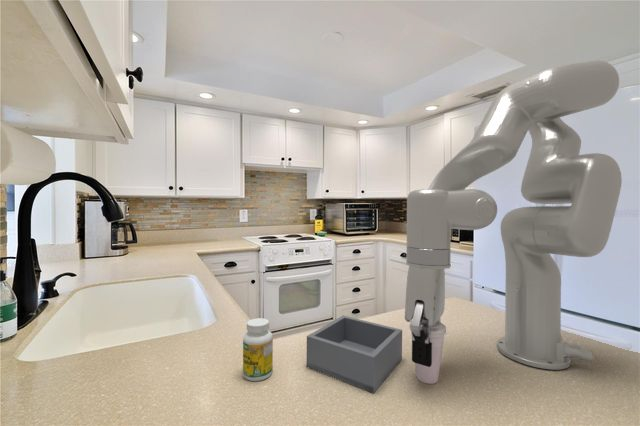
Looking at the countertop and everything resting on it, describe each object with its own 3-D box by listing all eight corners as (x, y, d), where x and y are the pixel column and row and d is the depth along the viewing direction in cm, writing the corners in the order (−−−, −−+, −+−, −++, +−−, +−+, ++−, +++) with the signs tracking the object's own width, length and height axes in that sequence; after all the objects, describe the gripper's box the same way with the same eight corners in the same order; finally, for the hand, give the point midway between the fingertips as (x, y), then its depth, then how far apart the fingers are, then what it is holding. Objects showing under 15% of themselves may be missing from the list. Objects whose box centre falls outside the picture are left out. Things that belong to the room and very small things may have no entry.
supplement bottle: (278, 370, 54) (278, 320, 54) (259, 385, 49) (259, 329, 50) (256, 363, 57) (257, 314, 57) (236, 376, 52) (236, 323, 52)
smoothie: (449, 390, 49) (450, 307, 49) (410, 385, 50) (411, 304, 50) (441, 370, 55) (442, 297, 55) (406, 366, 56) (407, 294, 56)
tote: (401, 358, 59) (402, 329, 59) (373, 393, 48) (374, 357, 48) (342, 341, 67) (343, 315, 67) (306, 367, 55) (306, 336, 56)
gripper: (420, 250, 62) (419, 334, 62) (390, 261, 47) (389, 370, 47) (458, 254, 57) (457, 344, 57) (438, 266, 43) (437, 386, 43)
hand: (426, 354), depth 52 cm, fingers closed on smoothie, 6 cm apart
